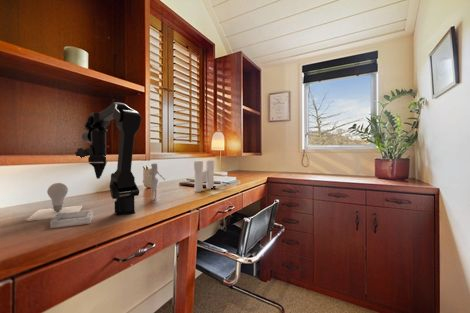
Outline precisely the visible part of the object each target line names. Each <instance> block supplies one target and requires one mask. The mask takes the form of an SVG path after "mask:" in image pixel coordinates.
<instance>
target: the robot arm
mask: <svg viewBox="0 0 470 313" xmlns="http://www.w3.org/2000/svg"><path fill="white" fill-rule="evenodd" d="M112 120H115V125H116V128H117V129H118V131H119V144H118V153H117V154H118V156H117V167H116V171H115V172H112V173H111V174H110V182H109V191H110V197H111V199H113V200H114V213H115V215H116V216H121V215H129V214H130V215H131V214H136V210H135V197H136V196H139V194H140V189H139V187H138V185H137V184H136V182H135V181H136V179H135V176H134V174H133V172H132V164H133V153H134V152H133V151H134V142H135V135H136V134H137V133H138V131H139V130H140V128H141V123H142V120H143V119H142V115H141V114H140V113H139V112H138V111H137V110H135V109H133V108H131V107H129V106H128V105H127V104H125V103H123V102H116V101H115V102H111V104H110V105H109V106H107V107H106V108H105V109H103V110H101V111H99V112H91V113H90V114H89V115H88V116H87V118H86V119H85V123H84V130H85V131H84V132H83V133H82V134H81V139H82V141H83V142H84V143H87V144H88V143H89V144H90V145H89V148H86V149H84V148H83V147H80V148H77V149H76V150H77V151H76V152H74V153H75V156H76V157H77V156H80V157H81V159H83V158H86V157H88V159H87V161H88V163H89V165H91V166H92V167H93V171H94V173H95V176H96V177H95V178H96V179H98V180H99V179H101V177H102V175H103V172H104V170H105V167H106V165H107V163H108V161H107V160H106V157H105V156H106V155H107V133H108V129H107V128H108V126H110V122H111V121H112ZM85 156H86V157H85ZM82 157H83V158H82ZM106 161H107V162H106Z"/></svg>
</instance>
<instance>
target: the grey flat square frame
mask: <svg viewBox="0 0 470 313" xmlns="http://www.w3.org/2000/svg"><path fill="white" fill-rule="evenodd" d="M93 216H94V209H90V210H89V209H88V210H80V211H77V212H67V213H58V214H57V215H56V216H55V217H54V218H52V219H51V220H50V222H49V229H57V228H65V227H73V226H80V225H88V224H89V225H90V224H91V222H92V220H93Z"/></svg>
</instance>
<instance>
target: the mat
mask: <svg viewBox="0 0 470 313" xmlns="http://www.w3.org/2000/svg"><path fill="white" fill-rule="evenodd" d="M82 208H83V205H75V206H73V205H72V206H65V207H63V206H62V210H60V211H59V212H56V211H54V210H53V207H52V208H41V209H38V210H37V211H35V213H33V214H32V215H31V216H29V217H28V218H26V222H30V221H31V222H32V221H41V220H52V219H53V218H54V217H55V216H56V215H57V214H58V213H67V212H77V211H82V210H81V209H82Z"/></svg>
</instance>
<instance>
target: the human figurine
mask: <svg viewBox="0 0 470 313" xmlns="http://www.w3.org/2000/svg"><path fill="white" fill-rule="evenodd" d="M157 175H159V177H161V178H162V179H163V181H165V180H166V179H165V177H163V175H161V174H160V172H159V171H158V164H157V163H154V162H153V163H151V170H150V172H149V173H148V175H147V176H146V177H145V178H144V179H143V180H142V184H144V183H145V181H146V180H147V179H148V178H149V177H150V176H151V178H150V181H149V185H150V189H151V192H150V193H151V199H150V201H157V187H158V185H159V184H158V182H159V178H157V177H156V176H157Z"/></svg>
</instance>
